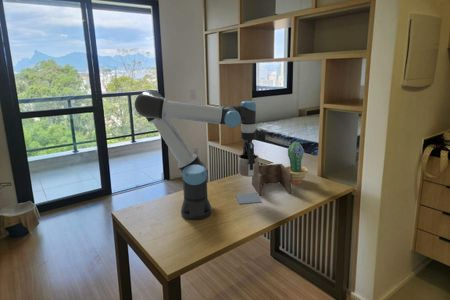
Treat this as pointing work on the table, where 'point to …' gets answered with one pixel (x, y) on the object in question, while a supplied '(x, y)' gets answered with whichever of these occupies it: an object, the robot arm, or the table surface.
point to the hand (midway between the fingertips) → (248, 171)
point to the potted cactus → (296, 163)
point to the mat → (248, 198)
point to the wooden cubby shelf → (272, 177)
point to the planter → (244, 166)
